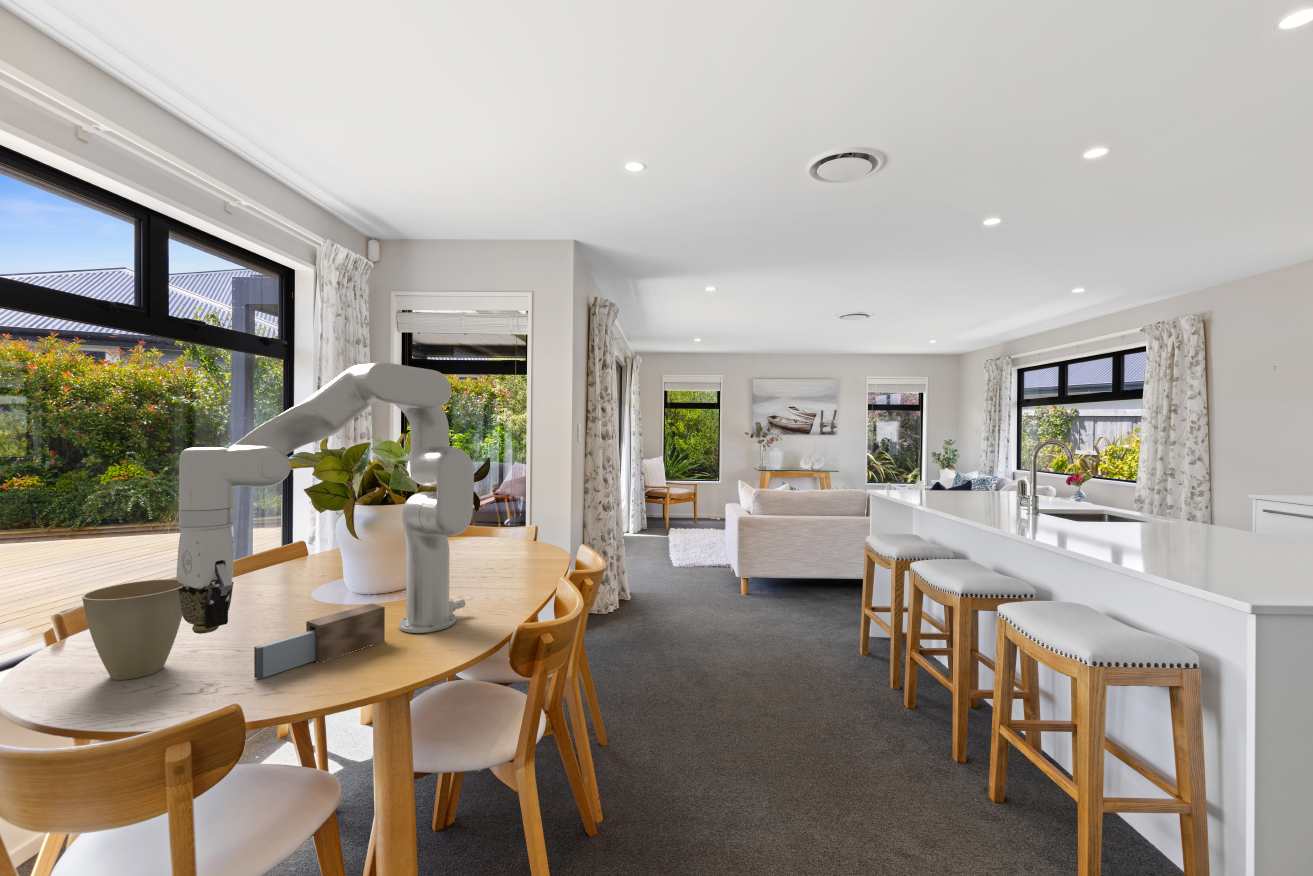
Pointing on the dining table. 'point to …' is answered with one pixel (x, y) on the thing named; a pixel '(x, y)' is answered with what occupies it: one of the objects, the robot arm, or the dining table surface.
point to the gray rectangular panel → (284, 654)
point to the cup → (196, 607)
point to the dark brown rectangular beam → (348, 631)
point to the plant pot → (134, 625)
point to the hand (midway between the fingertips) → (206, 621)
